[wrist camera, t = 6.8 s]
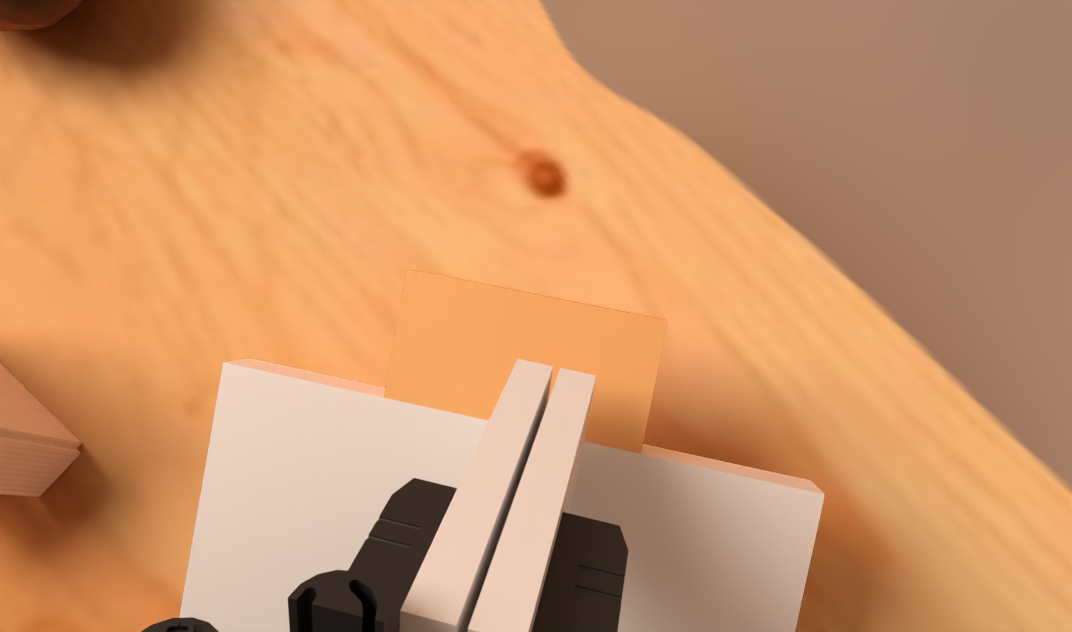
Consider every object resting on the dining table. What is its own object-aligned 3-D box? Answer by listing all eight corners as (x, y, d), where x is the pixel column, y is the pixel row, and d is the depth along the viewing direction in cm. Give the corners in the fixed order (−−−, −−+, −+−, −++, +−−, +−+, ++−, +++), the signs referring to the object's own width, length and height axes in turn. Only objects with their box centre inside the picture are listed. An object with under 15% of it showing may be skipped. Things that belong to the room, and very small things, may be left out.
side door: (715, 997, 16) (854, 358, 16) (143, 824, 18) (244, 237, 17) (709, 949, 17) (838, 353, 17) (173, 791, 19) (269, 241, 18)
